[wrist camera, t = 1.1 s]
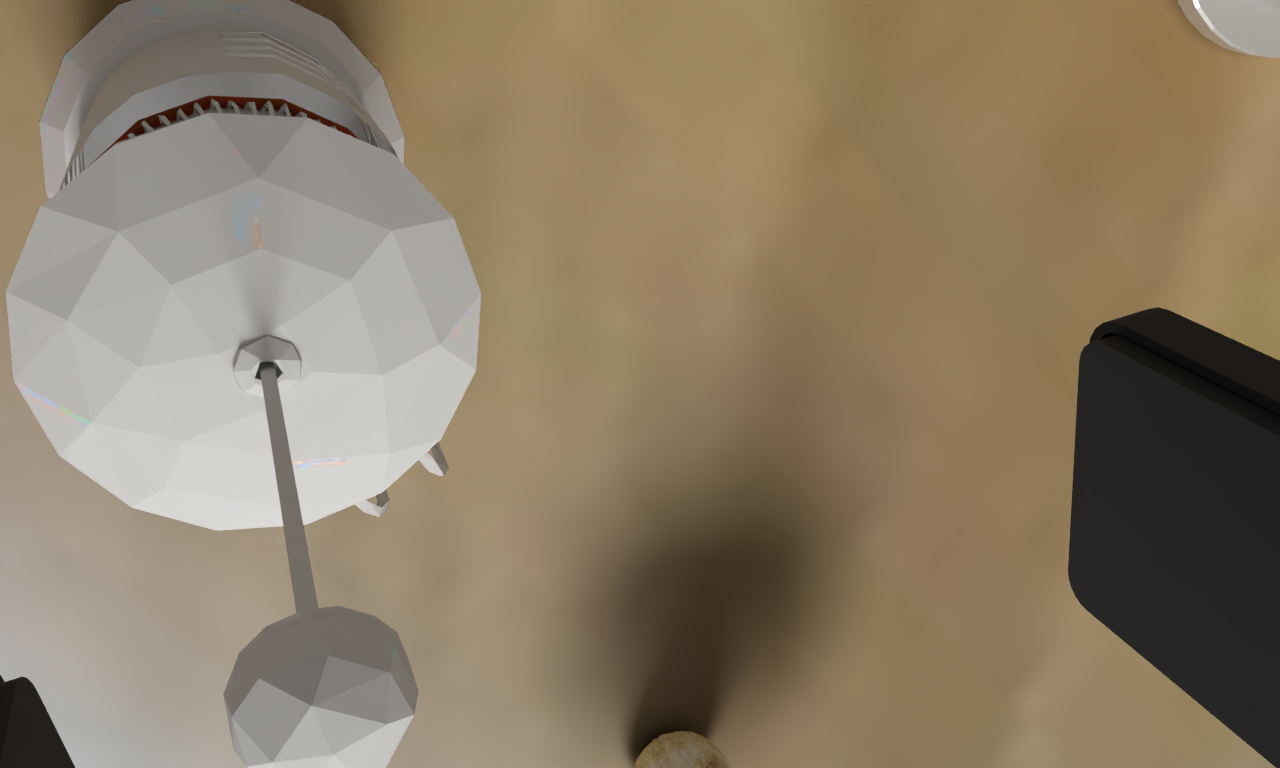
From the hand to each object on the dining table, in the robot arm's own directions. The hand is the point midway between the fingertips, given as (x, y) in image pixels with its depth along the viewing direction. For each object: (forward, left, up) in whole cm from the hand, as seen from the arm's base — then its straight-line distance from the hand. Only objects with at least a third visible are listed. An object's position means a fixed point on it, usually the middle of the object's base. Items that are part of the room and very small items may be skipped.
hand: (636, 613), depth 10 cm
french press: (+3, +1, -26) cm, 27 cm away
